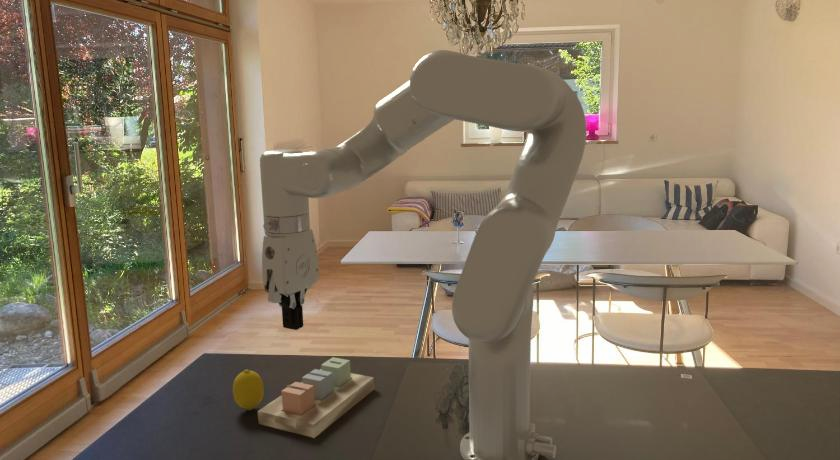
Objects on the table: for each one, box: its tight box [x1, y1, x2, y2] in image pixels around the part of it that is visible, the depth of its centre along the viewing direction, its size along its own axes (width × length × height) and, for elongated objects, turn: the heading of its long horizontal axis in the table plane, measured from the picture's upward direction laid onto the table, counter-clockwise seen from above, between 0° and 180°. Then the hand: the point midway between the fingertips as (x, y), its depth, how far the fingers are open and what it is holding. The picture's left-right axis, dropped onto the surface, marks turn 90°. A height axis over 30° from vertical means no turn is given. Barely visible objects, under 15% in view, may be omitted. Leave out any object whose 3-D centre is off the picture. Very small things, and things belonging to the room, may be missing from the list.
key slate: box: [301, 368, 334, 401], centre depth 119 cm, size 4×4×4 cm
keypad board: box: [257, 368, 375, 439], centre depth 119 cm, size 12×20×2 cm, turn 153°
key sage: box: [320, 356, 352, 387], centre depth 124 cm, size 4×4×4 cm
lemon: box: [232, 369, 265, 411], centre depth 118 cm, size 6×6×8 cm
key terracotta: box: [280, 381, 315, 416], centre depth 113 cm, size 5×4×4 cm
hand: (293, 327), depth 111 cm, fingers closed
